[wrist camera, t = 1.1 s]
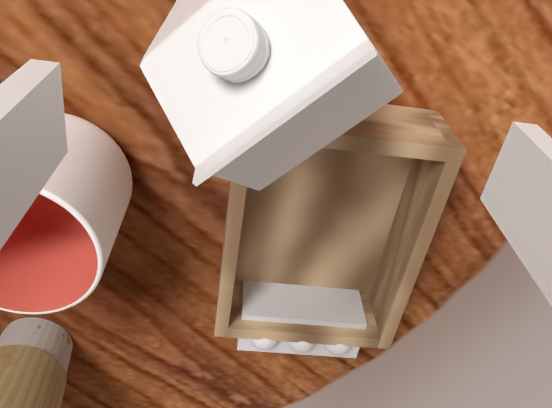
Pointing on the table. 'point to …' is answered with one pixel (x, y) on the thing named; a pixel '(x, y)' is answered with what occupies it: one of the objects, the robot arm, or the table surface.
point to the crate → (343, 225)
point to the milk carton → (263, 82)
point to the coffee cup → (33, 363)
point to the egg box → (301, 315)
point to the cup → (67, 226)
